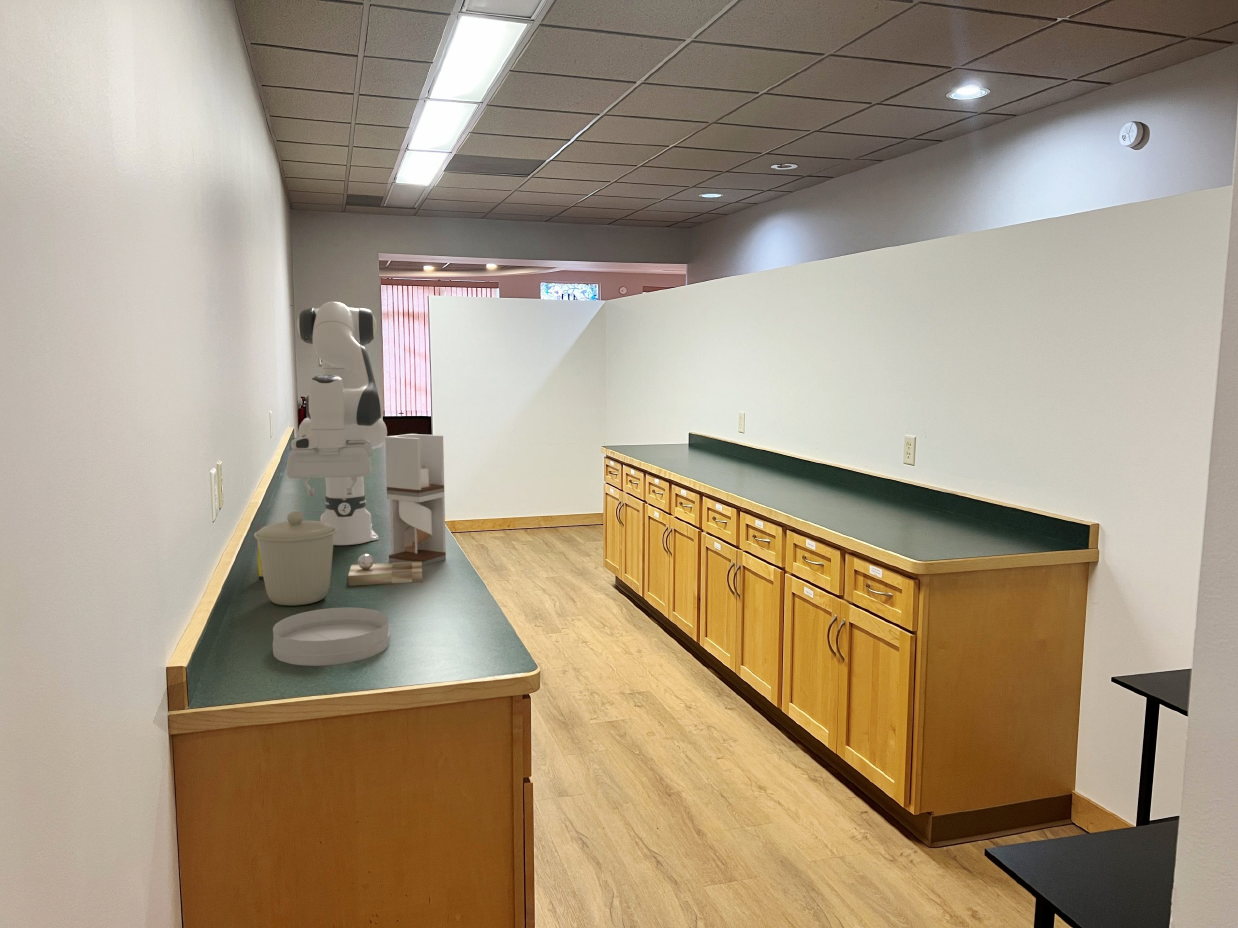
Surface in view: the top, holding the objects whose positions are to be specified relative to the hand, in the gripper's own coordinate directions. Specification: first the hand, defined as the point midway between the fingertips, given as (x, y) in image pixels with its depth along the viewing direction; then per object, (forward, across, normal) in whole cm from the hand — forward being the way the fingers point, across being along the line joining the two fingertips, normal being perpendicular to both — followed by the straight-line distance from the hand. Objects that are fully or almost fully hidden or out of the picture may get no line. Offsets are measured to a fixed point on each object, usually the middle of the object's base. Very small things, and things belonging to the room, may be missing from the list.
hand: (330, 495), depth 222 cm
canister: (+23, +6, +17) cm, 29 cm away
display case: (+22, -21, -18) cm, 36 cm away
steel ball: (+18, -8, 0) cm, 19 cm away
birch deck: (+22, -13, 0) cm, 26 cm away
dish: (+23, -4, +53) cm, 58 cm away
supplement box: (+22, +15, -7) cm, 28 cm away
